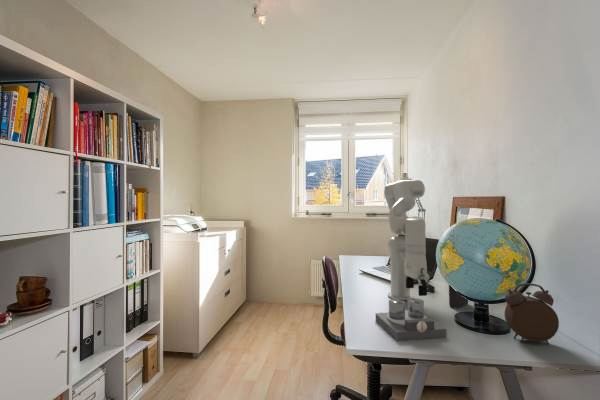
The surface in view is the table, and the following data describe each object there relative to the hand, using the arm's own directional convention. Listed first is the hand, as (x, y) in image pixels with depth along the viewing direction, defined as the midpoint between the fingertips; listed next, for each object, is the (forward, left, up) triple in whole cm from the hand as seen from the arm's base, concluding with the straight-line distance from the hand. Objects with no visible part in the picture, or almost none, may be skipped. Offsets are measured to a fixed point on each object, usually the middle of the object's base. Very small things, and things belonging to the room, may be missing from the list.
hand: (416, 291), depth 118 cm
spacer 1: (+1, -9, -9) cm, 13 cm away
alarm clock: (+20, +31, -13) cm, 39 cm away
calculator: (-18, +32, -13) cm, 39 cm away
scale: (+3, -5, -13) cm, 14 cm away
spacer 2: (+1, -1, -9) cm, 9 cm away
